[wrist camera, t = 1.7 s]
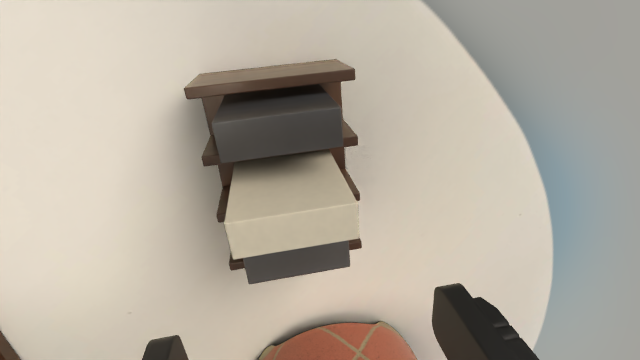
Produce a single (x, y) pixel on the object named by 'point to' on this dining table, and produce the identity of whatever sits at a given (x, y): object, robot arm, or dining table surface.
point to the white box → (289, 204)
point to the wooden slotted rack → (6, 350)
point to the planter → (343, 344)
